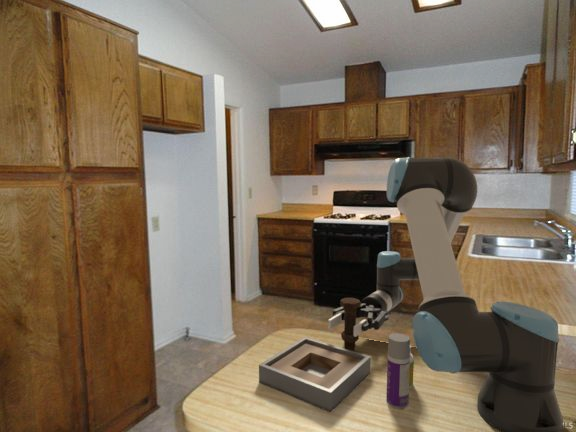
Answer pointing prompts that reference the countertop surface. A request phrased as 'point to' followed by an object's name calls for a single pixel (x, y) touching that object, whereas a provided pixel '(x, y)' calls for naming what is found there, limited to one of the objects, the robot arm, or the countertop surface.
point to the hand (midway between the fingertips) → (341, 328)
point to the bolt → (349, 322)
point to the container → (398, 370)
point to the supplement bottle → (411, 369)
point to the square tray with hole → (319, 357)
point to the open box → (312, 391)
